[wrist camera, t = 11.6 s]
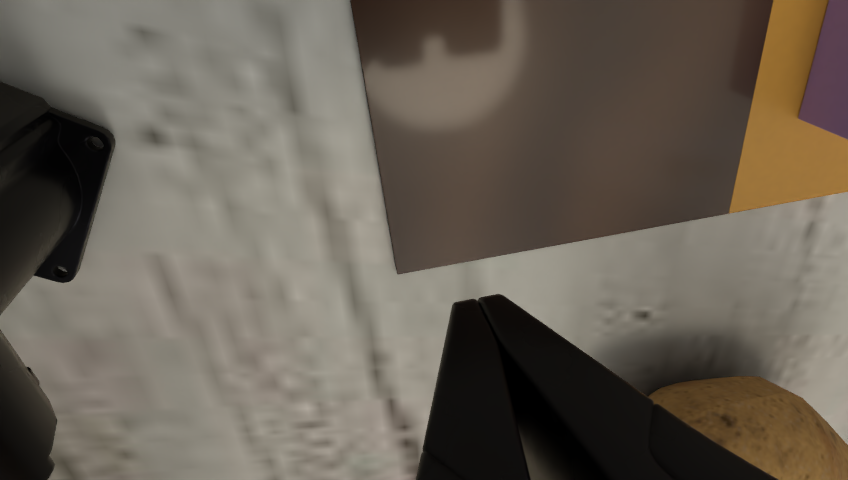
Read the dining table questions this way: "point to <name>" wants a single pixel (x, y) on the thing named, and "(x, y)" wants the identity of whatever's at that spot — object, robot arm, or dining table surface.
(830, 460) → the potato
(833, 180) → the pad
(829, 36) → the block
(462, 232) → the board
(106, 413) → the dining table surface
